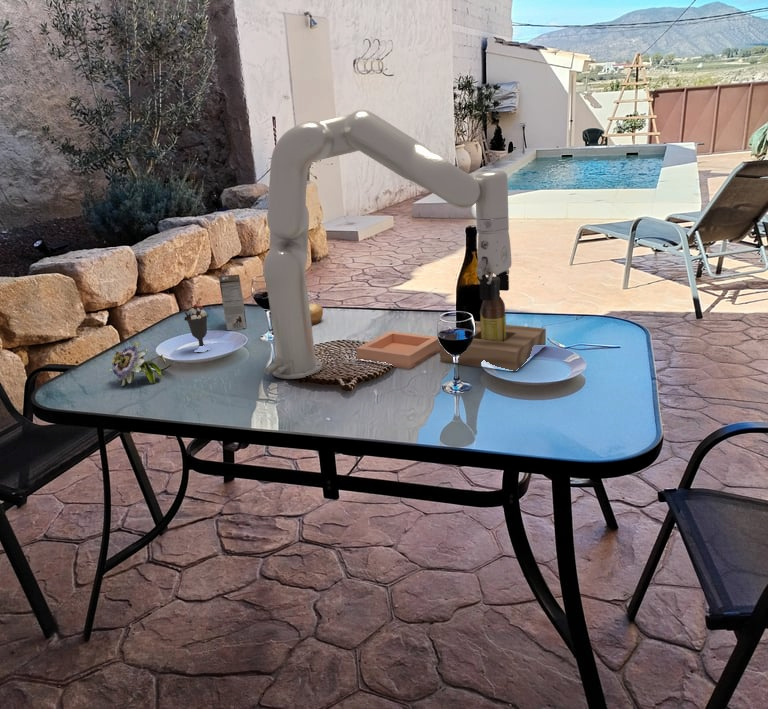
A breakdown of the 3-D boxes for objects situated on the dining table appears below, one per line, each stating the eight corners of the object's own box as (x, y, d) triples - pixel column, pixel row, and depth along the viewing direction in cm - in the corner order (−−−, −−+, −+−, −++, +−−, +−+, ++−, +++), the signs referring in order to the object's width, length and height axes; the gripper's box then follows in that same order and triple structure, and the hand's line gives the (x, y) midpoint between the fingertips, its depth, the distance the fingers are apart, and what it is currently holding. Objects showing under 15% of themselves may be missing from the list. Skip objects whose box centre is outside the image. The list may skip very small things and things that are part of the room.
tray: (410, 369, 152) (409, 355, 151) (357, 360, 161) (356, 348, 160) (441, 349, 165) (441, 337, 164) (390, 342, 173) (390, 330, 172)
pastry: (279, 324, 200) (275, 297, 197) (306, 315, 208) (303, 289, 205) (303, 330, 192) (300, 302, 189) (331, 320, 200) (328, 293, 197)
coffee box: (226, 324, 205) (218, 275, 199) (246, 321, 206) (239, 273, 201) (226, 331, 196) (218, 281, 191) (247, 328, 198) (240, 278, 192)
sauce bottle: (492, 348, 163) (491, 273, 156) (511, 353, 158) (511, 276, 152) (475, 354, 159) (474, 278, 153) (494, 360, 154) (493, 281, 148)
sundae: (218, 346, 182) (209, 296, 177) (208, 353, 175) (199, 302, 171) (197, 346, 183) (188, 296, 178) (186, 354, 177) (177, 302, 172)
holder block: (515, 372, 145) (515, 352, 144) (440, 361, 156) (439, 342, 155) (545, 347, 161) (545, 328, 159) (475, 338, 172) (474, 321, 170)
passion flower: (129, 405, 157) (96, 369, 155) (158, 382, 166) (126, 348, 164) (149, 387, 150) (114, 350, 149) (178, 364, 159) (145, 329, 157)
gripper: (492, 231, 139) (494, 304, 145) (521, 219, 153) (522, 287, 158) (461, 230, 143) (465, 302, 149) (493, 219, 157) (495, 286, 162)
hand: (494, 294), depth 154 cm, fingers open, 9 cm apart
